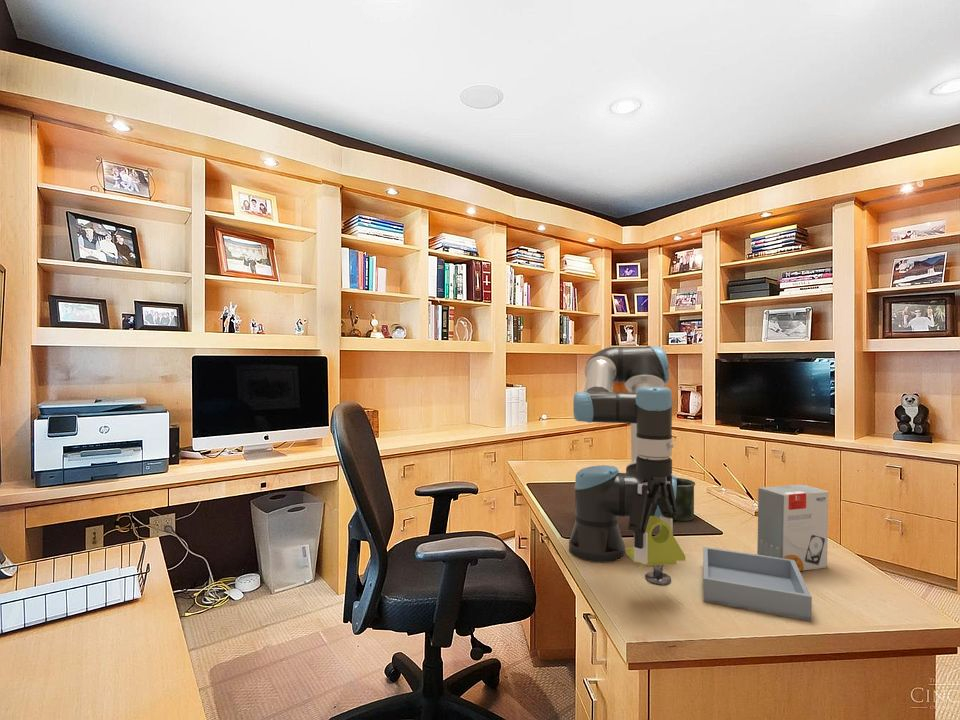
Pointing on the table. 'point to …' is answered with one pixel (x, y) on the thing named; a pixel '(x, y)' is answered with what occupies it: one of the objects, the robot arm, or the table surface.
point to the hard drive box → (794, 524)
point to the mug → (684, 499)
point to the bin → (755, 583)
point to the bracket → (660, 545)
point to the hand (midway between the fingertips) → (654, 553)
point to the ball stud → (658, 576)
